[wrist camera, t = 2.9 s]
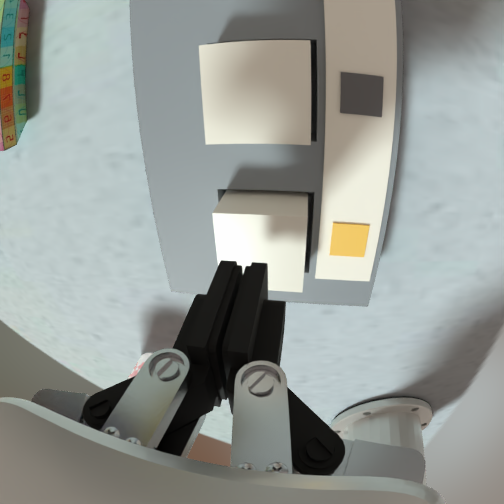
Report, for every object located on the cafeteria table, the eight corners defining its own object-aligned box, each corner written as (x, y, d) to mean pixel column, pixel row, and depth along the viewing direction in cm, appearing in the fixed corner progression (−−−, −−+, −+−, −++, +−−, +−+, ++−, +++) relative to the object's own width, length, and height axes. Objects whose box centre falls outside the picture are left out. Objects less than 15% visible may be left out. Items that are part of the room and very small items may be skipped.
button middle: (309, 47, 11) (310, 40, 9) (309, 130, 13) (310, 145, 11) (219, 50, 12) (198, 45, 9) (224, 130, 14) (205, 144, 11)
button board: (373, -83, 7) (384, -108, 4) (362, 275, 19) (368, 309, 17) (157, -70, 9) (130, -88, 6) (186, 264, 21) (169, 294, 19)
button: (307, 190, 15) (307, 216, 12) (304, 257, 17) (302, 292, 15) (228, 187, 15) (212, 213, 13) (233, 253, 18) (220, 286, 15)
